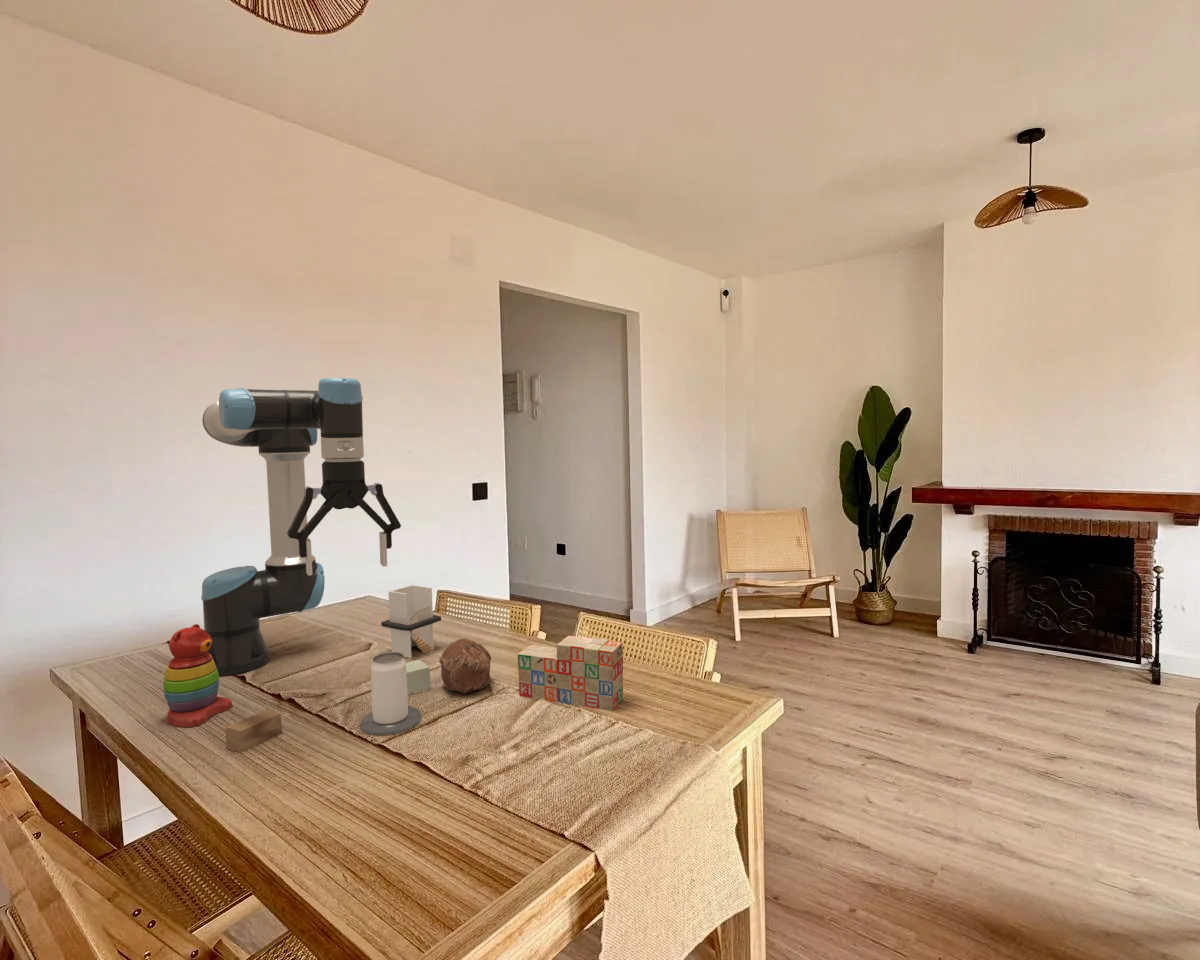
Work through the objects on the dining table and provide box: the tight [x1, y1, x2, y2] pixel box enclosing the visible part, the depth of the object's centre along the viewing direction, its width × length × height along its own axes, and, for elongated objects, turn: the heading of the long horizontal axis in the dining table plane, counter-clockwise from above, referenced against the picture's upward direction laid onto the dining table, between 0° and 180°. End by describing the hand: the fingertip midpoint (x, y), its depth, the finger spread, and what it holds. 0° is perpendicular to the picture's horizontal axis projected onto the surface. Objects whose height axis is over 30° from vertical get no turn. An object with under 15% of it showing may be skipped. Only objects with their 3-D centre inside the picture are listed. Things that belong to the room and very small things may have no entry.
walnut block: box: [225, 709, 283, 753], centre depth 116 cm, size 8×4×4 cm, turn 152°
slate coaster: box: [360, 705, 422, 736], centre depth 123 cm, size 11×11×1 cm
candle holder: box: [380, 584, 442, 659], centre depth 162 cm, size 25×24×16 cm
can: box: [370, 651, 409, 725], centre depth 122 cm, size 6×6×12 cm
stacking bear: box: [162, 623, 233, 728], centre depth 127 cm, size 11×10×18 cm
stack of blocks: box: [517, 635, 624, 712], centre depth 132 cm, size 21×6×12 cm, turn 68°
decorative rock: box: [439, 637, 492, 694], centre depth 139 cm, size 13×11×10 cm
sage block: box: [406, 659, 431, 695], centre depth 139 cm, size 6×6×5 cm
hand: (347, 569), depth 123 cm, fingers open, 13 cm apart
